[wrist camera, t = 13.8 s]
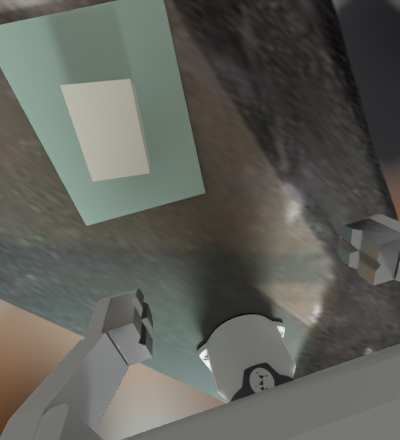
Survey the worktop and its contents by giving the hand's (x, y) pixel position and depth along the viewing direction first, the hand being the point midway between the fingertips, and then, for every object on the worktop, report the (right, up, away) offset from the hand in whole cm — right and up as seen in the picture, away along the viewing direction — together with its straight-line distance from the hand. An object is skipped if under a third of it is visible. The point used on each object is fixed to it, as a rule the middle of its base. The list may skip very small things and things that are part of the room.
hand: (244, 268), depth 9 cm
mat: (-11, +12, +16) cm, 23 cm away
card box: (-11, +12, +15) cm, 22 cm away
